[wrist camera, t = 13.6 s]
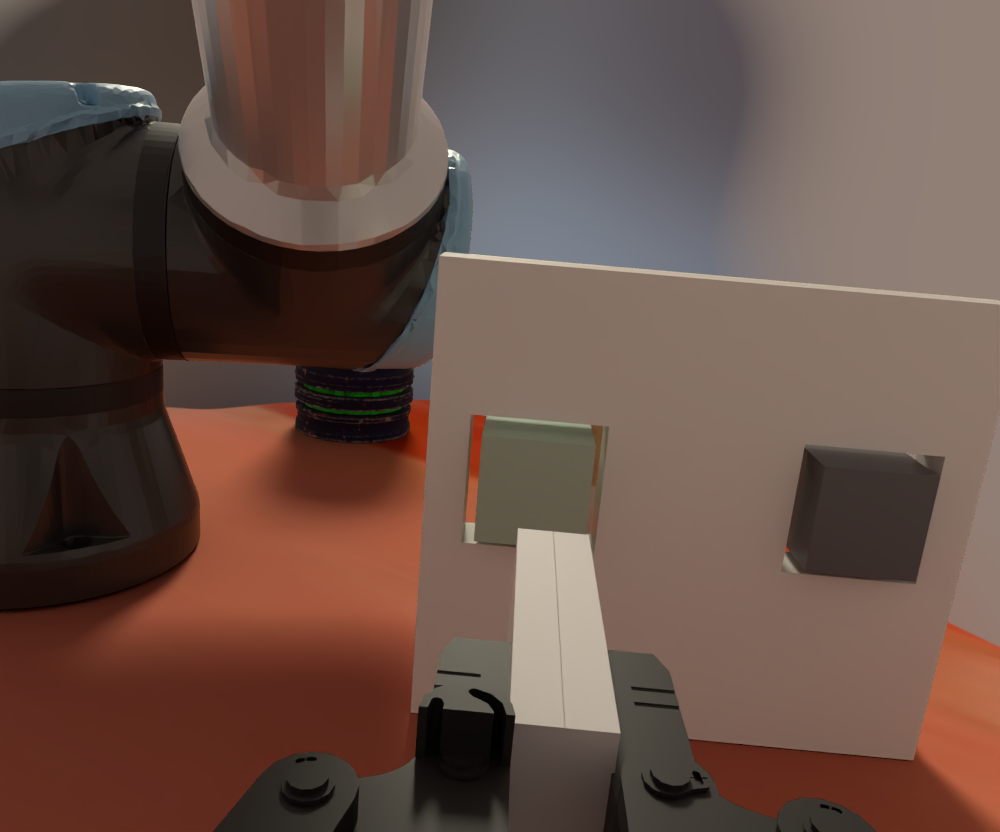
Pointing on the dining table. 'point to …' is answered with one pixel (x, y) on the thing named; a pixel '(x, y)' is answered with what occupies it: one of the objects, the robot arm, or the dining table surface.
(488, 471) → the sage button
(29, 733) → the dining table surface
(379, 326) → the robot arm
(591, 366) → the button panel
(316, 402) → the storage jar
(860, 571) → the black button
